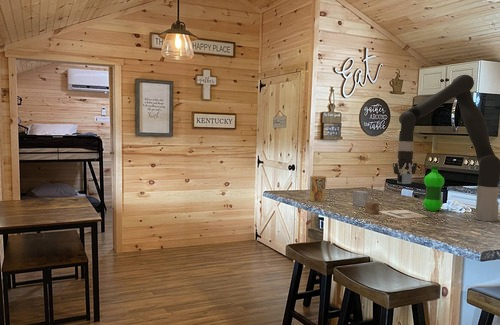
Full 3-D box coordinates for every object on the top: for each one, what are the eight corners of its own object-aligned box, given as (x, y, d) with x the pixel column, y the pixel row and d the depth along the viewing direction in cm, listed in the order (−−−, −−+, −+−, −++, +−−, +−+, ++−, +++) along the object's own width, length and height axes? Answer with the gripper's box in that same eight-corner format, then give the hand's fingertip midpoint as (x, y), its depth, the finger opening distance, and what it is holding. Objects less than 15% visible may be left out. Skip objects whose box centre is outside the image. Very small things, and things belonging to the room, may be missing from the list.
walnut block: (372, 212, 224) (373, 201, 224) (378, 214, 220) (379, 203, 219) (365, 213, 223) (365, 202, 222) (370, 214, 218) (371, 203, 218)
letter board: (405, 210, 232) (405, 210, 232) (428, 217, 215) (428, 216, 215) (377, 212, 226) (377, 211, 226) (399, 219, 209) (399, 218, 209)
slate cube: (404, 182, 223) (405, 173, 223) (411, 183, 218) (411, 174, 218) (397, 182, 221) (397, 173, 221) (403, 183, 217) (403, 174, 216)
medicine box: (368, 206, 242) (369, 191, 242) (364, 207, 239) (365, 192, 238) (356, 204, 248) (356, 190, 247) (352, 205, 244) (352, 191, 244)
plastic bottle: (419, 209, 235) (422, 165, 233) (426, 207, 243) (429, 165, 241) (438, 212, 228) (441, 167, 226) (444, 210, 236) (447, 166, 234)
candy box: (322, 199, 263) (323, 175, 262) (325, 201, 259) (326, 176, 258) (309, 200, 261) (310, 175, 260) (311, 201, 257) (312, 176, 256)
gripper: (412, 149, 224) (410, 181, 226) (389, 149, 220) (388, 181, 221) (421, 150, 217) (420, 182, 218) (398, 150, 213) (397, 183, 214)
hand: (404, 182), depth 220 cm, fingers closed on slate cube, 5 cm apart
